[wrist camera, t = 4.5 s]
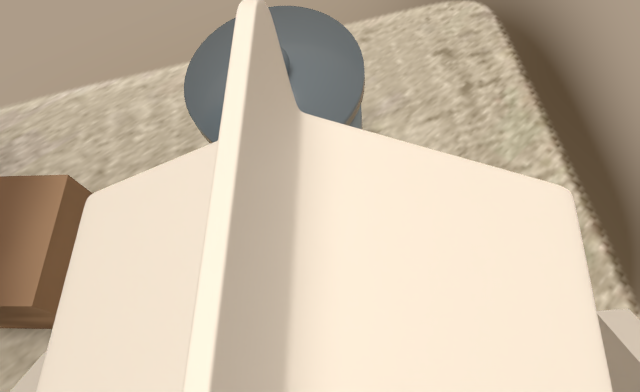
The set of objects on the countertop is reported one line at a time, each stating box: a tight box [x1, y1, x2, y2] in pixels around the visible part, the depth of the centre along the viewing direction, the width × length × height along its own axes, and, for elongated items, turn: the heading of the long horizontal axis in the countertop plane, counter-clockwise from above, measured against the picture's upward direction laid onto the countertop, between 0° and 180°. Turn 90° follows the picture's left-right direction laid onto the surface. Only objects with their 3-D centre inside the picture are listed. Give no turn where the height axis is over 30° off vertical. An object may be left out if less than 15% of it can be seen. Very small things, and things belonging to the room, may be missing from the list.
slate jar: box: [184, 6, 365, 144], centre depth 23 cm, size 7×7×10 cm
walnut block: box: [0, 175, 92, 329], centre depth 24 cm, size 6×6×6 cm
